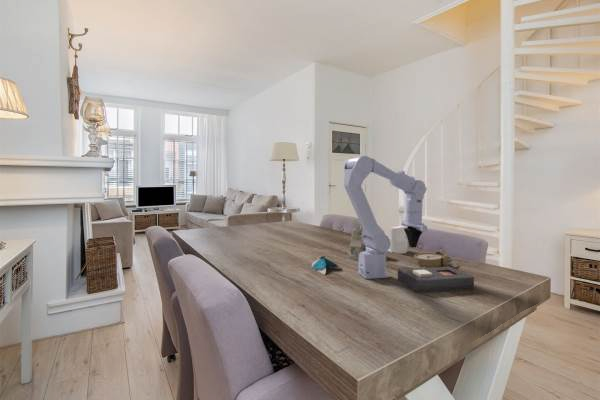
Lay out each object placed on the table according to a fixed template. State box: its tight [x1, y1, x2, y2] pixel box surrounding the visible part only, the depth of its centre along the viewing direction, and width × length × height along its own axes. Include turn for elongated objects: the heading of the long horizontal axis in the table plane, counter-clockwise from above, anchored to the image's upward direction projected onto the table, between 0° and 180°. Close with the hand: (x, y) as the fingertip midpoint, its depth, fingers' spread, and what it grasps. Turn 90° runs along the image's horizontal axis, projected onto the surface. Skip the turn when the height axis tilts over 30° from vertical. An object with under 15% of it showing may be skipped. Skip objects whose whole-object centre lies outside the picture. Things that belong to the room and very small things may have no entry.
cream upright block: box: [387, 225, 409, 254], centre depth 148 cm, size 9×9×12 cm
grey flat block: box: [397, 265, 475, 294], centre depth 101 cm, size 20×12×4 cm, turn 101°
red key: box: [439, 272, 455, 275], centre depth 102 cm, size 4×4×3 cm
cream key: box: [413, 269, 433, 277], centre depth 100 cm, size 4×4×3 cm
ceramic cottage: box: [346, 223, 388, 261], centre depth 137 cm, size 16×16×15 cm
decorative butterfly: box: [311, 255, 343, 275], centre depth 118 cm, size 10×6×10 cm
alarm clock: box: [411, 251, 453, 268], centre depth 126 cm, size 11×5×15 cm
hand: (412, 247), depth 115 cm, fingers closed
